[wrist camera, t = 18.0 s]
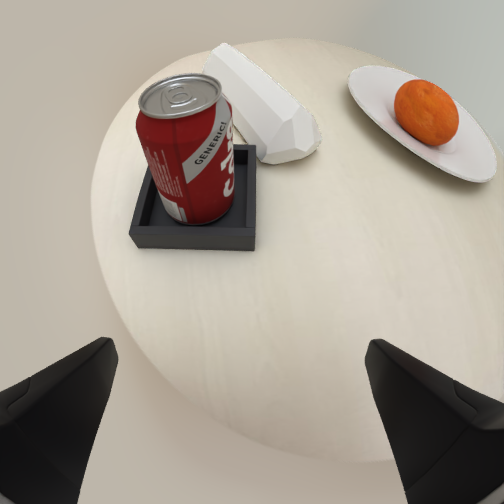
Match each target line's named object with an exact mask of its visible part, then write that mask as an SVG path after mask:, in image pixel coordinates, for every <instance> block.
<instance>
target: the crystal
mask: <svg viewBox="0 0 504 504" xmlns="http://www.w3.org/2000/svg"><path fill="white" fill-rule="evenodd" d="M202 74H205V75H209V76H212V77H214V78H216V79H217V80H218V81H219V82H220V83H221V86H222V93H223V94H224V95H225V96H226V97H227V98H228V100H229V101H230V103H231V106H232V122H233V124H234V125H235V126H236V128H237V129H238V130H239V132H240V133H241V135H242V136H243V137H244V139H245V140H246V141H247V143H248V144H249V145H256V156H257V157H258V158H259V160H260V161H261V162H264V163H269V164H279V163H283V162H288V161H293V160H298V159H302V158H304V157H306V156H308V155H310V154H311V153H312V152H313V151H314V150H315V149H316V148H317V147H318V146H319V145H320V143H321V141H322V136H321V132H320V129H319V127H318V124H317V122H316V120H315V118H314V116H313V115H312V114H311V113H310V112H309V111H308V110H307V109H306V108H305V107H304V106H303V105H302V104H301V103H300V102H299V101H298V100H297V99H296V98H294V97H293V96H292V95H291V94H290V93H289V92H288V91H287V90H286V89H285V88H283V87H282V86H281V85H280V84H279V83H278V82H277V81H275V80H274V79H273V78H272V77H271V76H269V75H268V74H267V73H266V72H265V71H263V70H262V69H261V68H260V67H259V66H257V65H256V64H255V63H254V62H252V61H251V60H250V59H248V58H247V57H246V56H245V55H243V54H242V53H241V52H239V51H238V50H237V49H235V48H234V47H232V46H230V45H229V44H227V43H225V42H223V43H222V44H221V45H219V46H218V47H216V48H215V49H214V50H212V51H211V53H210V55H209V56H208V58H207V60H206V62H205V64H204V66H203V68H202Z"/></svg>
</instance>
